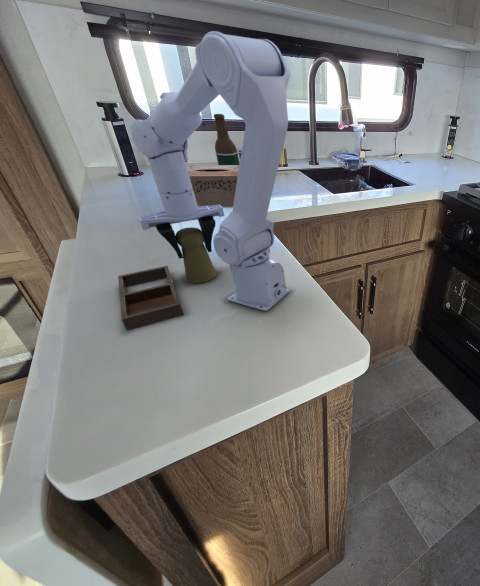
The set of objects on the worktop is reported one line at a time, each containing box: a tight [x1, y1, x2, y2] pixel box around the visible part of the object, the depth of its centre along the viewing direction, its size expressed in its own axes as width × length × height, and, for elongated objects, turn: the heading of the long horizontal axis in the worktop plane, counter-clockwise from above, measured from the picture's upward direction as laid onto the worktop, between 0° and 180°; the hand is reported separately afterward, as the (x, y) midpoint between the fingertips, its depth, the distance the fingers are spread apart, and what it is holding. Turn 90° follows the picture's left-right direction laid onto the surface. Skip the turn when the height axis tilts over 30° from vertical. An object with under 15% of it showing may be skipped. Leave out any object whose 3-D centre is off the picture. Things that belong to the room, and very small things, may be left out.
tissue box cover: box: [186, 164, 239, 208], centre depth 113 cm, size 26×14×10 cm, turn 104°
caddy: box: [117, 265, 184, 331], centre depth 65 cm, size 17×9×2 cm, turn 36°
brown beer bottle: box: [213, 113, 240, 165], centre depth 127 cm, size 8×8×24 cm
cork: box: [175, 226, 218, 284], centre depth 71 cm, size 6×6×11 cm
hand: (195, 253), depth 71 cm, fingers closed on cork, 5 cm apart
